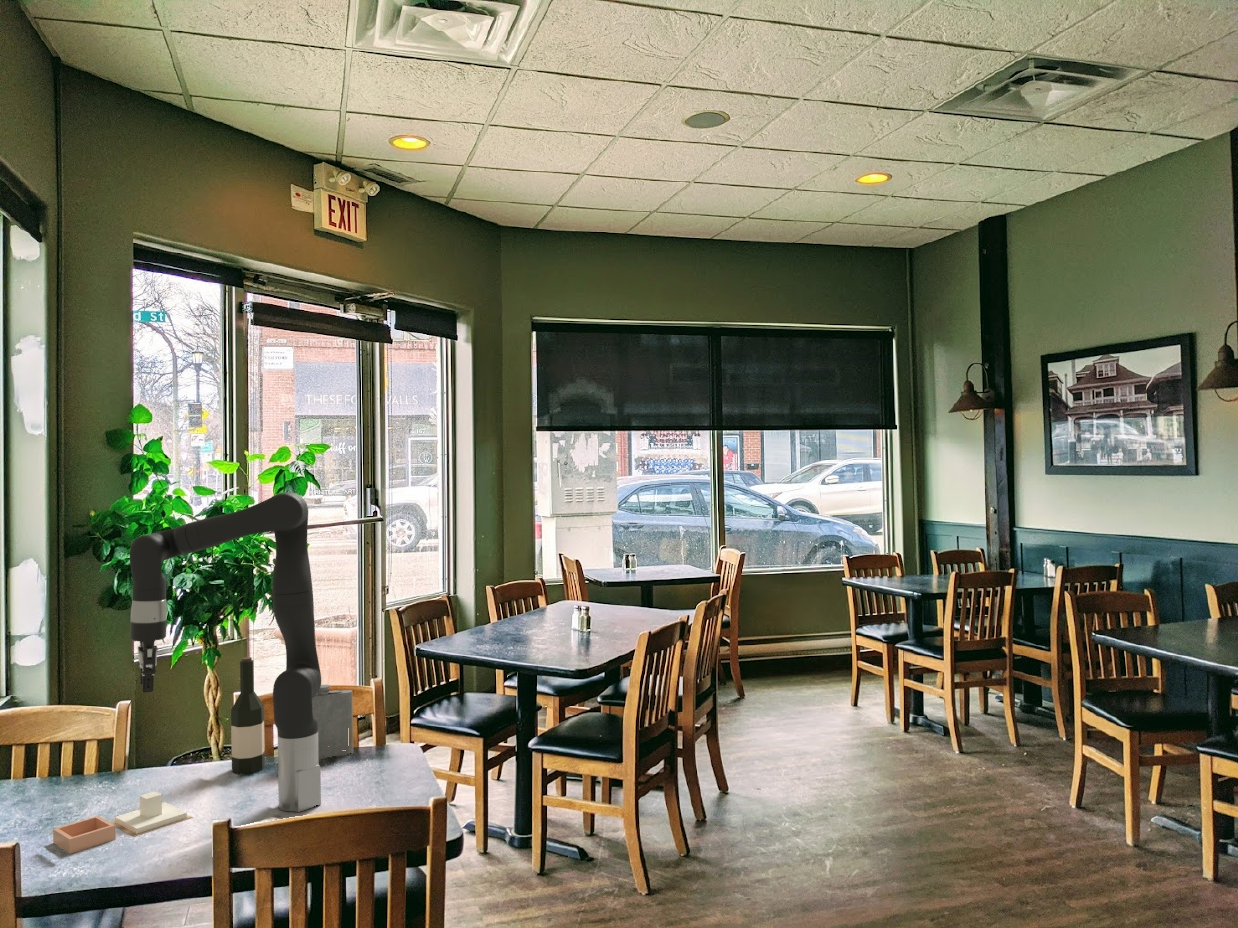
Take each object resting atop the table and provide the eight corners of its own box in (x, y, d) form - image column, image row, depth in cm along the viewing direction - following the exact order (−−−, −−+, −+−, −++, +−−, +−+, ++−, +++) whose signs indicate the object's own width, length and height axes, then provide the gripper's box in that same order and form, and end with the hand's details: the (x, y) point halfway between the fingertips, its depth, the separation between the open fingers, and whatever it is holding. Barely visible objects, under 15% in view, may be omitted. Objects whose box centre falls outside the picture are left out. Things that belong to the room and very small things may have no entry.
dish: (115, 843, 194) (115, 825, 194) (70, 858, 187) (69, 839, 187) (98, 833, 200) (97, 815, 199) (53, 847, 192) (52, 828, 192)
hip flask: (296, 764, 244) (295, 691, 244) (293, 760, 247) (291, 688, 247) (354, 753, 253) (353, 682, 252) (350, 749, 256) (349, 679, 256)
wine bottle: (253, 775, 236) (251, 661, 236) (224, 773, 237) (223, 660, 237) (271, 764, 244) (269, 655, 244) (244, 762, 246) (242, 654, 245)
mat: (193, 821, 205) (193, 817, 205) (134, 841, 195) (134, 836, 195) (166, 808, 213) (166, 804, 213) (108, 826, 203) (108, 822, 203)
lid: (186, 817, 205) (186, 793, 205) (136, 833, 196) (136, 807, 196) (164, 806, 212) (164, 782, 212) (115, 821, 203) (114, 796, 203)
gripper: (169, 622, 205) (166, 693, 205) (164, 613, 217) (161, 679, 217) (132, 624, 201) (129, 696, 201) (129, 615, 214) (126, 682, 213)
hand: (146, 687), depth 209 cm, fingers open, 8 cm apart
